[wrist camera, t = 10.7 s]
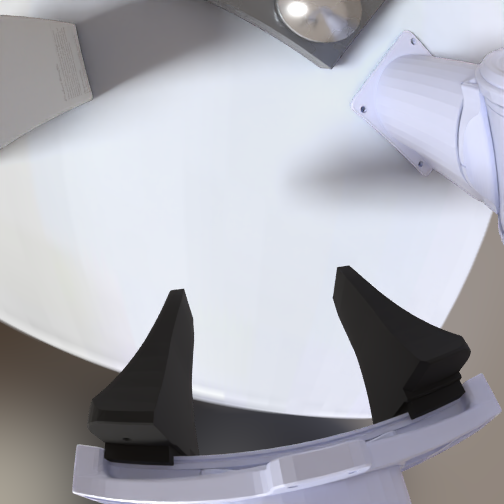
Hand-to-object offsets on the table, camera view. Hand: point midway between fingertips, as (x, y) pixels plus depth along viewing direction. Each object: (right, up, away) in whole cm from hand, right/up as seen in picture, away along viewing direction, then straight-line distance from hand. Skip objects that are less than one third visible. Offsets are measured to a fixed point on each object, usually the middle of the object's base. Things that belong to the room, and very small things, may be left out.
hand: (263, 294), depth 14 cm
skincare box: (-13, +14, 0) cm, 19 cm away
